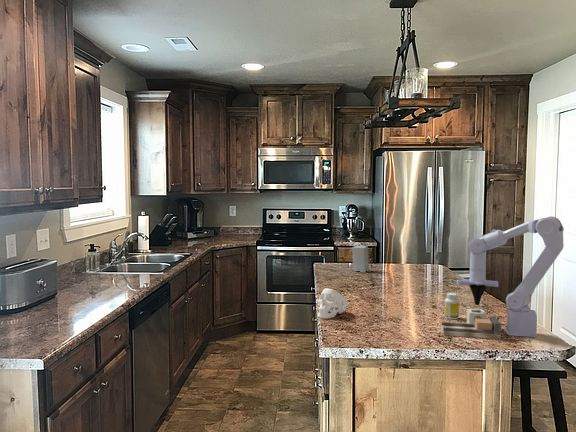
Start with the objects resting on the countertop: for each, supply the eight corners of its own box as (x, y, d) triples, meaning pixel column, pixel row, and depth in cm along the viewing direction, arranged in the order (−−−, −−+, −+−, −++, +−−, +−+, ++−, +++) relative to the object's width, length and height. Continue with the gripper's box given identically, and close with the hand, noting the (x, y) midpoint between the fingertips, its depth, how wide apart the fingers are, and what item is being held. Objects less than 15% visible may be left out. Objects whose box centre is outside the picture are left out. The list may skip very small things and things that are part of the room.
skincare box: (368, 271, 295) (369, 246, 294) (364, 273, 289) (364, 247, 288) (356, 269, 299) (356, 245, 298) (351, 271, 293) (352, 246, 292)
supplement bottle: (460, 317, 192) (461, 293, 191) (455, 320, 187) (455, 296, 187) (447, 315, 195) (448, 291, 194) (442, 317, 191) (442, 294, 190)
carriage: (489, 327, 172) (489, 319, 172) (492, 332, 167) (492, 323, 167) (474, 327, 173) (474, 318, 173) (477, 331, 168) (477, 322, 168)
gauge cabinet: (483, 323, 183) (483, 309, 183) (486, 328, 177) (486, 314, 177) (466, 322, 184) (467, 308, 184) (469, 327, 178) (469, 313, 178)
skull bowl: (306, 313, 192) (317, 285, 197) (325, 325, 201) (334, 298, 206) (327, 317, 185) (337, 289, 189) (345, 330, 194) (354, 302, 198)
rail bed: (495, 331, 173) (495, 316, 173) (500, 339, 165) (501, 323, 164) (441, 327, 177) (441, 313, 177) (443, 335, 169) (444, 320, 168)
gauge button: (479, 322, 182) (479, 310, 182) (480, 324, 179) (481, 311, 179) (471, 322, 182) (472, 309, 182) (472, 324, 180) (473, 311, 179)
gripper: (459, 270, 177) (458, 306, 178) (500, 271, 174) (499, 308, 175) (456, 267, 184) (455, 301, 185) (496, 268, 181) (495, 303, 182)
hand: (476, 304), depth 180 cm, fingers closed
